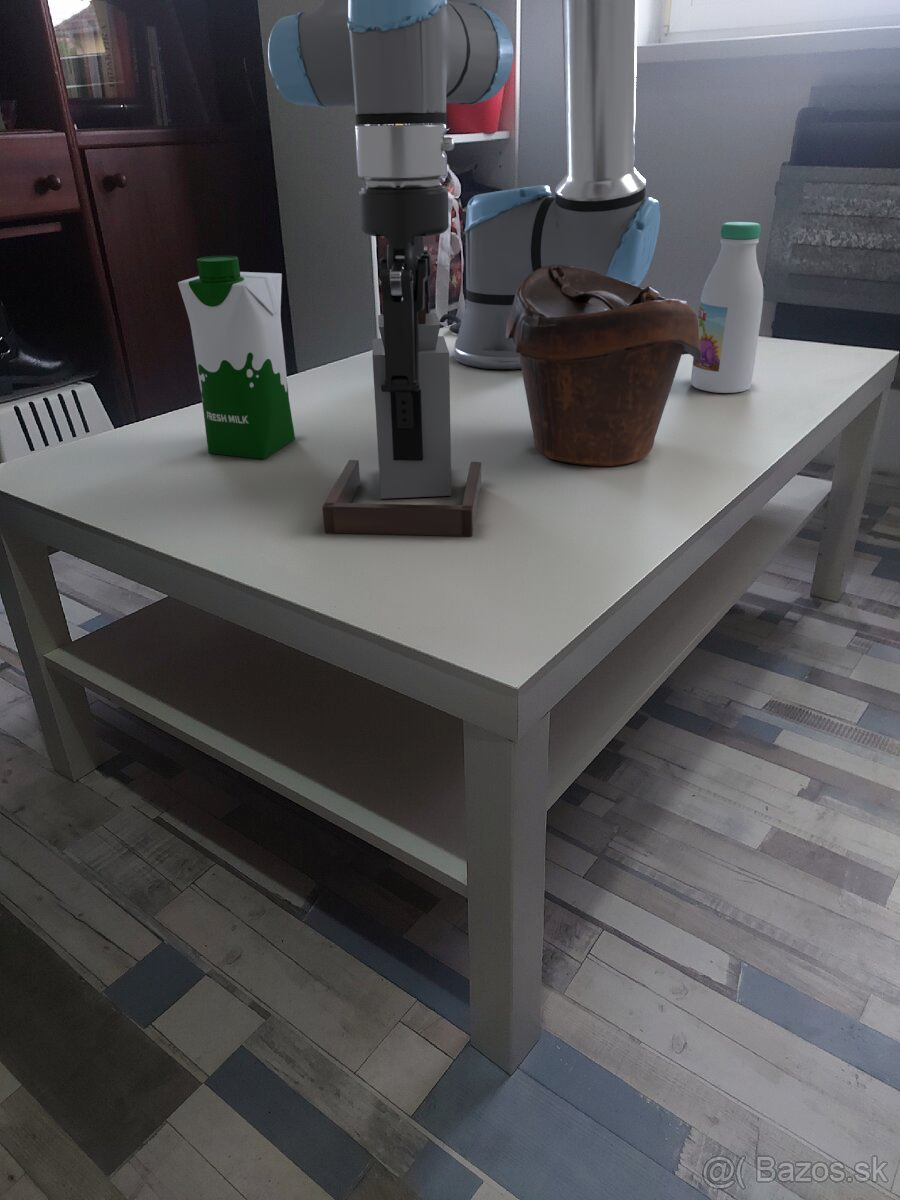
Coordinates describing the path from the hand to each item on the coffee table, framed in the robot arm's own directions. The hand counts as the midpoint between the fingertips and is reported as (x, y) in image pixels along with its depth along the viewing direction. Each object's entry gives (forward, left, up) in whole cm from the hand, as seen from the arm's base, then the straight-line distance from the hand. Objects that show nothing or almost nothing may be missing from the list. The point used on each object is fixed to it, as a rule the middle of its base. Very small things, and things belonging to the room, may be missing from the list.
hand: (413, 446), depth 86 cm
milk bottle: (-7, +52, -4) cm, 52 cm away
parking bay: (+4, -3, -4) cm, 7 cm away
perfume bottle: (0, 0, -4) cm, 4 cm away
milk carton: (-21, -8, -4) cm, 23 cm away
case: (+2, +22, -4) cm, 22 cm away
